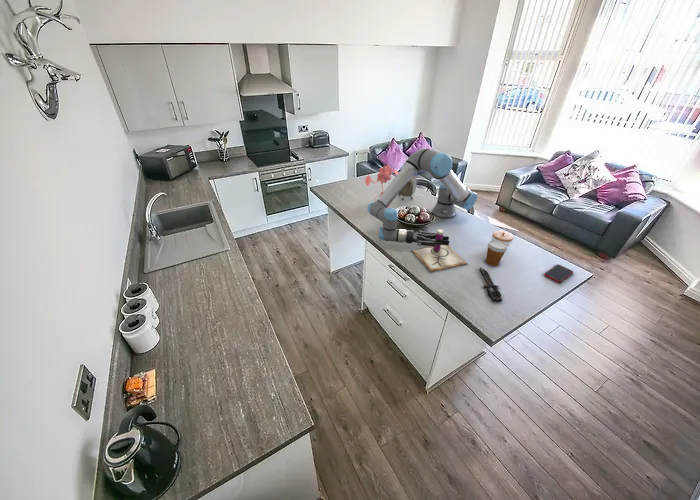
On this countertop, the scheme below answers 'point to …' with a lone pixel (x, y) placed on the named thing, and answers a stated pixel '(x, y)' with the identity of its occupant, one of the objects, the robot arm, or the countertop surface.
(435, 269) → the drawing board
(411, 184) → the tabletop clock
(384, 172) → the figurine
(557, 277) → the cell phone
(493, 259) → the disposable coffee cup
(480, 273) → the knife
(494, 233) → the lidded sugar bowl
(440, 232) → the dot marker
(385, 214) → the robot arm
